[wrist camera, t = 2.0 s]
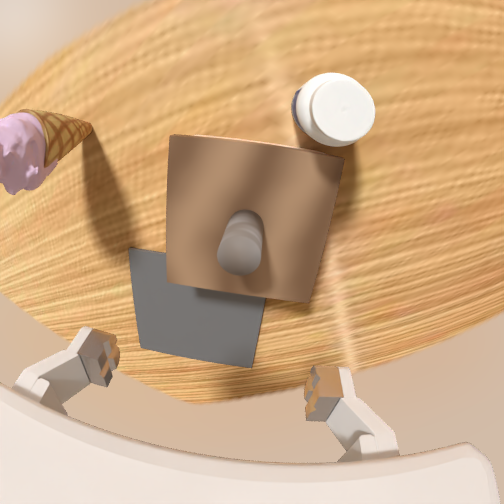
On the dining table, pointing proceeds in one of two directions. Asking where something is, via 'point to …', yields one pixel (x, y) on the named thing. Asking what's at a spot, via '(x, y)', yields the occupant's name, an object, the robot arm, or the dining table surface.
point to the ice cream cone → (35, 146)
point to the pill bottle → (333, 109)
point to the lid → (248, 216)
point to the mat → (192, 315)
